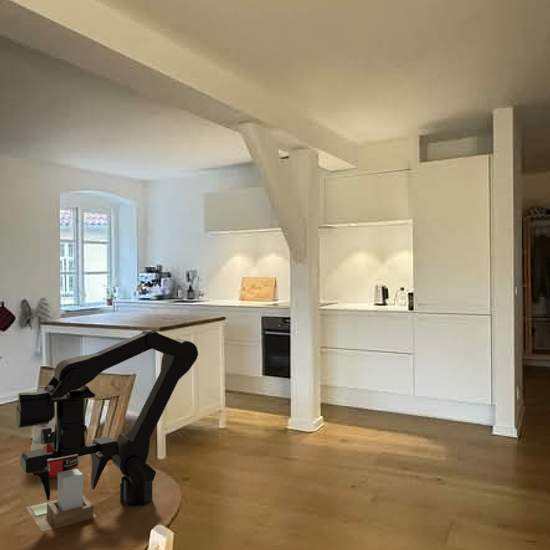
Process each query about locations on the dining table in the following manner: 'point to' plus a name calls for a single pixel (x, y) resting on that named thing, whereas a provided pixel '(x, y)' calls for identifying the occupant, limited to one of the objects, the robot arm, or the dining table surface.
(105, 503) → the dining table surface
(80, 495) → the block
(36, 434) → the plastic bottle
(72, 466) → the canned food
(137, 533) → the dining table surface
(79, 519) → the brown slotted holder
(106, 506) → the dining table surface
